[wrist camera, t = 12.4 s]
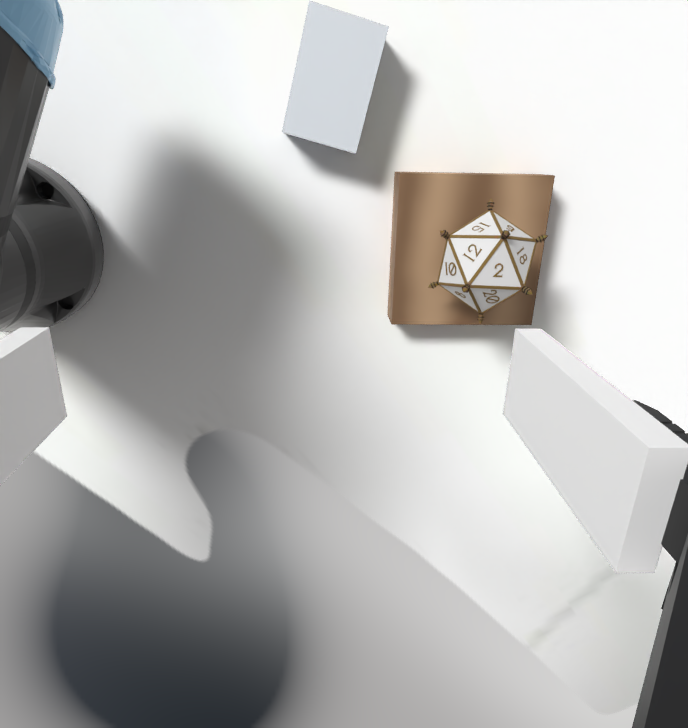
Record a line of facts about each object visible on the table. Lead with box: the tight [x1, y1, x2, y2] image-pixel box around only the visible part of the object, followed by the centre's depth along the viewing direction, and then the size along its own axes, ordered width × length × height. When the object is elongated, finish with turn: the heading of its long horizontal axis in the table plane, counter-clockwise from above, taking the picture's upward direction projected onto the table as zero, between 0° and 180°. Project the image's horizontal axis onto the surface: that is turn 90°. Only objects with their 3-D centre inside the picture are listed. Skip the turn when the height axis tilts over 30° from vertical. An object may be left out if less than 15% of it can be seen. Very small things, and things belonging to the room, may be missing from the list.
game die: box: [428, 198, 547, 324], centre depth 42 cm, size 9×8×10 cm
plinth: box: [388, 172, 555, 325], centre depth 47 cm, size 13×13×3 cm
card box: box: [282, 1, 389, 154], centre depth 42 cm, size 6×9×4 cm, turn 165°
